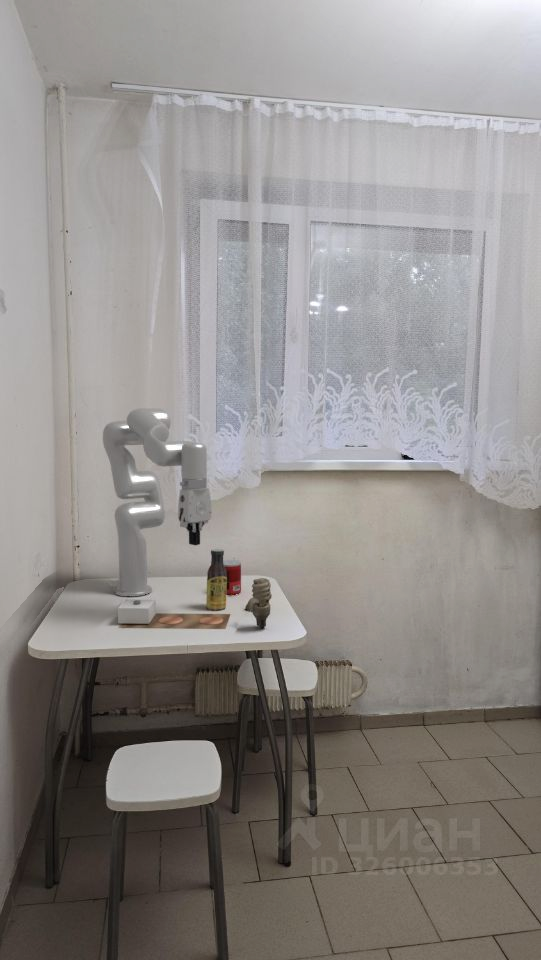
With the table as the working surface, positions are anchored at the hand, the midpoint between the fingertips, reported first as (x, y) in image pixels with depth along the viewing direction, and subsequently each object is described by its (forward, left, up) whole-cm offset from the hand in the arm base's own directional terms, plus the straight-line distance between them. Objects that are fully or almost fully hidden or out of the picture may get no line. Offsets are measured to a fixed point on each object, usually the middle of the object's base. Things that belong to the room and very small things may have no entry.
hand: (194, 544), depth 197 cm
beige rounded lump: (+19, +8, -23) cm, 31 cm away
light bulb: (+21, -10, -23) cm, 32 cm away
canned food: (+8, +28, -23) cm, 37 cm away
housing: (-16, -7, -22) cm, 28 cm away
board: (-5, -7, -23) cm, 24 cm away
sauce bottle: (+6, +6, -23) cm, 25 cm away
